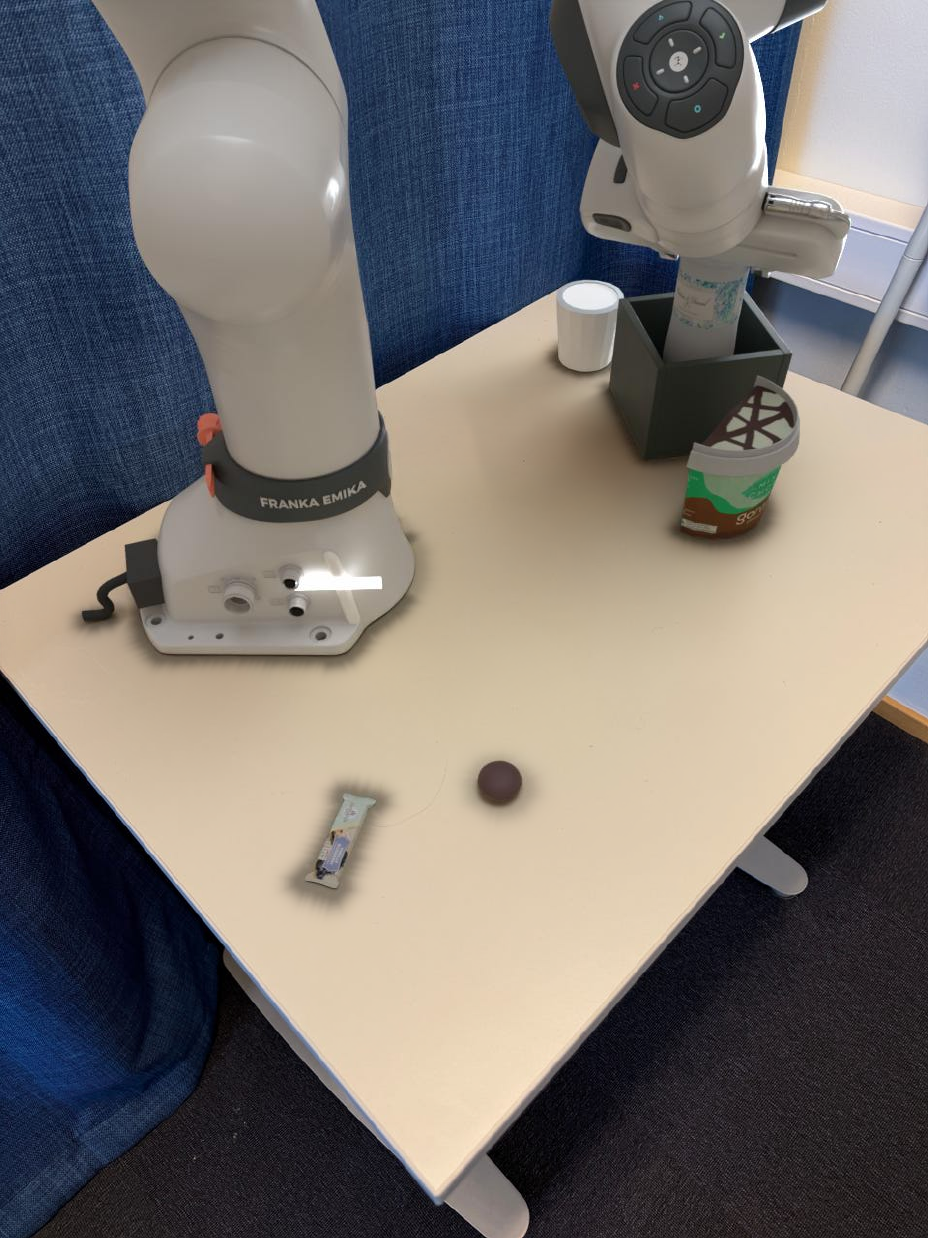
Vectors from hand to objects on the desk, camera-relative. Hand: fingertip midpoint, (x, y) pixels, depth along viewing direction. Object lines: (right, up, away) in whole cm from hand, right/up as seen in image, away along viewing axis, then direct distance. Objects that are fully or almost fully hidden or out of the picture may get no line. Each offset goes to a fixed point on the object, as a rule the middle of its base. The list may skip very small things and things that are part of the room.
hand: (716, 258), depth 78 cm
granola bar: (-30, -46, -18) cm, 58 cm away
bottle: (0, -8, +8) cm, 12 cm away
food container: (+2, -22, +1) cm, 22 cm away
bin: (0, -11, +11) cm, 16 cm away
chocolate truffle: (-19, -43, -16) cm, 49 cm away
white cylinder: (-9, -3, +19) cm, 21 cm away
